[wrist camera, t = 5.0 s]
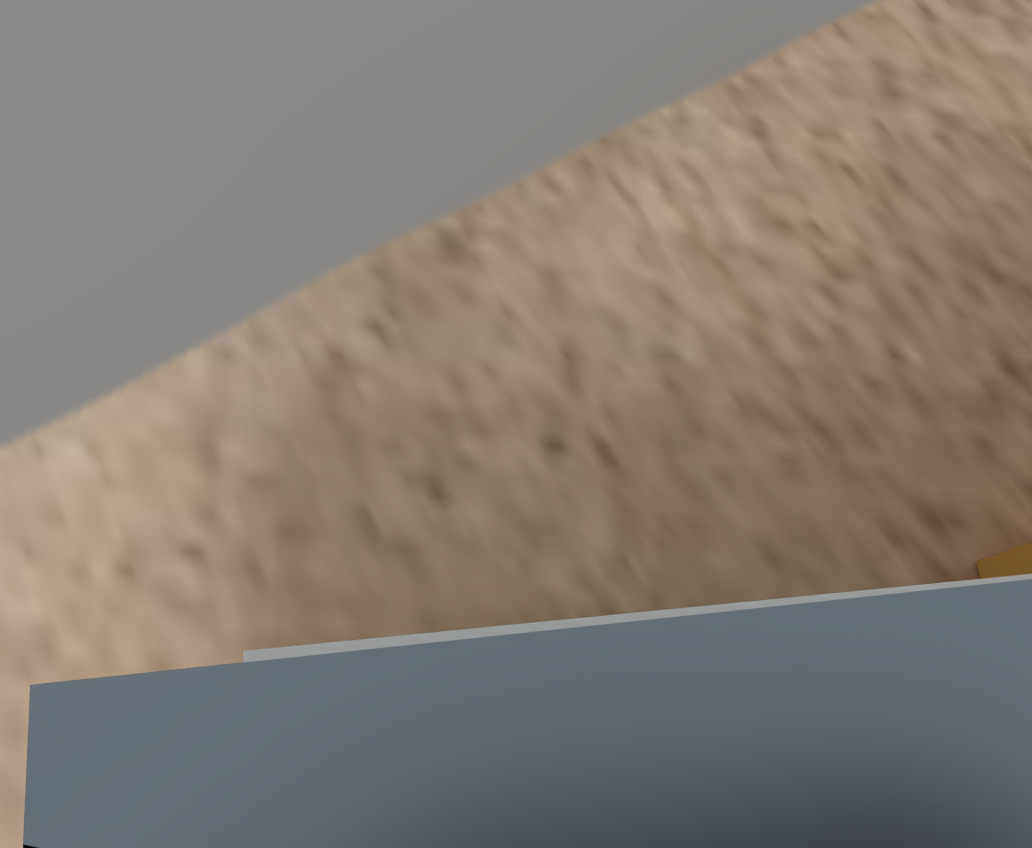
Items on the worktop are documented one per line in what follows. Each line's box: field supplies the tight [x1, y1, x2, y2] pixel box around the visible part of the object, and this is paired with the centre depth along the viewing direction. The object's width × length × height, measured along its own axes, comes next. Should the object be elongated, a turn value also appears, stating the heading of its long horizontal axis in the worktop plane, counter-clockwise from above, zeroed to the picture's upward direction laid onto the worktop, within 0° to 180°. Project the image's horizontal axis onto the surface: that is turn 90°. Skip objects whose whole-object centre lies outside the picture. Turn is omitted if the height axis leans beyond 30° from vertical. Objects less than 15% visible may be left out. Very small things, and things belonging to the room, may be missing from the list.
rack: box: [243, 542, 1032, 662], centre depth 19 cm, size 7×24×6 cm, turn 96°
